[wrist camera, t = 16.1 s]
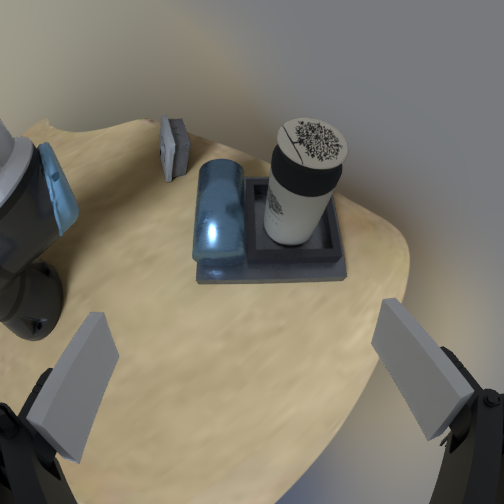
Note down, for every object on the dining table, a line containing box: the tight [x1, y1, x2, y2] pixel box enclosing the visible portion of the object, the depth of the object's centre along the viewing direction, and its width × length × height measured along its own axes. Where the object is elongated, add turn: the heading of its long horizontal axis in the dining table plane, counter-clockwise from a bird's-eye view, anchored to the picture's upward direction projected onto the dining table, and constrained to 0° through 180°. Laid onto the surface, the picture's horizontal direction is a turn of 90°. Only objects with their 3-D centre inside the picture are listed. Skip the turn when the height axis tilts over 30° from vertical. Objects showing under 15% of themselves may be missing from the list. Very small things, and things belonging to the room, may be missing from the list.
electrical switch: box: [159, 115, 191, 182], centre depth 45 cm, size 9×5×9 cm, turn 21°
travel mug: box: [264, 118, 348, 246], centre depth 34 cm, size 8×8×18 cm
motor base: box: [192, 159, 347, 284], centre depth 40 cm, size 22×18×9 cm
